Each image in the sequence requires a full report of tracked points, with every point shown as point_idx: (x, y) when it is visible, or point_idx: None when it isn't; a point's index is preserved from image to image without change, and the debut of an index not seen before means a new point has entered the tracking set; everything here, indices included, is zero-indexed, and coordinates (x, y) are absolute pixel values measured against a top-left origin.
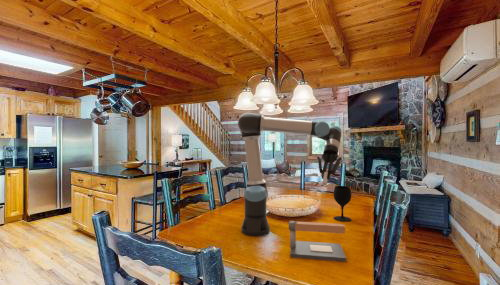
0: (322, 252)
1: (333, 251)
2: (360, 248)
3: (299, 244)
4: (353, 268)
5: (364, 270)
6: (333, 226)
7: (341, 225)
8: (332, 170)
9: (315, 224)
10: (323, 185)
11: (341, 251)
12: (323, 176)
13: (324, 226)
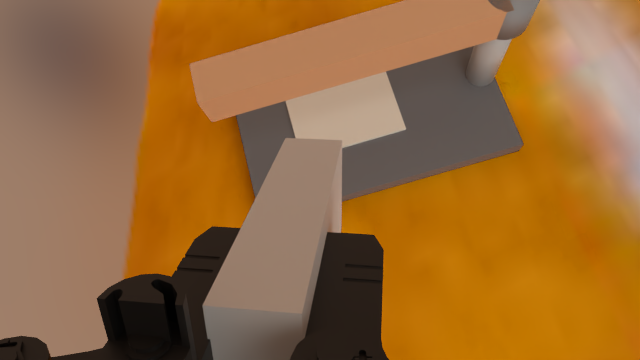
0: None
1: (283, 112)
2: (163, 255)
3: (459, 115)
4: (204, 44)
5: (166, 48)
6: (255, 46)
7: (208, 72)
8: (18, 358)
9: (364, 17)
10: (340, 228)
11: (248, 129)
12: (336, 249)
13: (309, 33)
